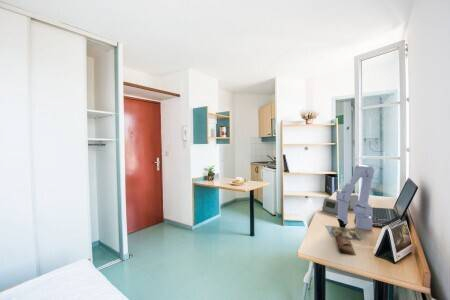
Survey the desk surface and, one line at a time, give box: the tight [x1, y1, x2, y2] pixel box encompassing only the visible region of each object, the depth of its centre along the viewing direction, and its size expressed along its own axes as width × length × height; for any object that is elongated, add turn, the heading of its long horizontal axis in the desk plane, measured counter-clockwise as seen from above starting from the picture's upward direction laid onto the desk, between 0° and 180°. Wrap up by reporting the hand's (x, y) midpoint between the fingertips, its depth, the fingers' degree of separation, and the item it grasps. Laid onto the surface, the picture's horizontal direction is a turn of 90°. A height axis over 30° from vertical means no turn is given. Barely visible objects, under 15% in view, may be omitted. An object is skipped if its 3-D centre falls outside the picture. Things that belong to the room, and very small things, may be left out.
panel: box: [332, 226, 361, 241], centre depth 141 cm, size 14×10×3 cm
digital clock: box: [321, 197, 338, 215], centre depth 187 cm, size 16×9×11 cm, turn 21°
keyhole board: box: [325, 224, 364, 241], centre depth 146 cm, size 18×19×4 cm
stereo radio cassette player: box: [335, 187, 359, 210], centre depth 203 cm, size 21×8×20 cm, turn 8°
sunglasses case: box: [335, 235, 356, 256], centre depth 127 cm, size 18×7×7 cm, turn 160°
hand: (342, 230), depth 147 cm, fingers closed
